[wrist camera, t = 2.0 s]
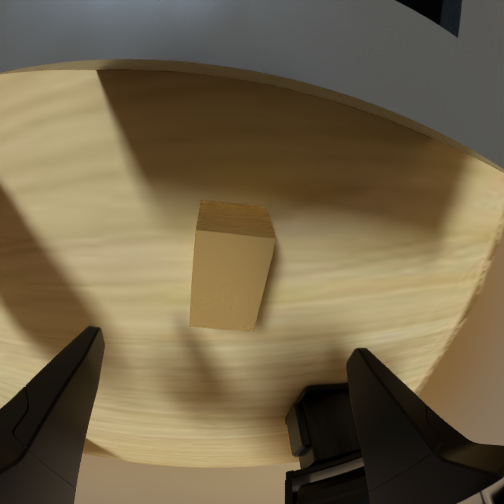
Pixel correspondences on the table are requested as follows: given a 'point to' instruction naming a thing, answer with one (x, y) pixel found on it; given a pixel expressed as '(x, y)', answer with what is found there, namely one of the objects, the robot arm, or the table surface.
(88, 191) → the table surface
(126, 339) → the table surface
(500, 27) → the box
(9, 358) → the table surface
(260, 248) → the tan brushed block
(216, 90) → the table surface
